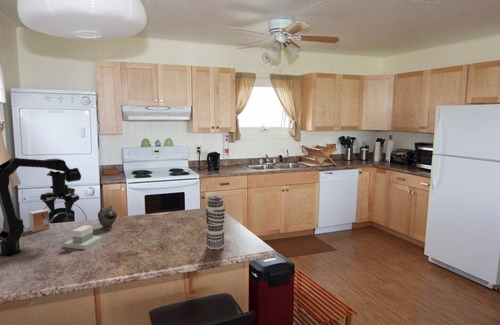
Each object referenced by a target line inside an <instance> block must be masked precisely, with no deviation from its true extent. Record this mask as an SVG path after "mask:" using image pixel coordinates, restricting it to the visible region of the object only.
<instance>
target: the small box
mask: <svg viewBox="0 0 500 325" xmlns="http://www.w3.org/2000/svg"><path fill="white" fill-rule="evenodd" d="M28 219H29V231H31V232H33V233H36V232H41V231H45V230H50V212H49V210H48V209H45V208H43V209H39V210H33V211H29V212H28Z"/></svg>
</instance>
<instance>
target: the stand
mask: <svg viewBox="0 0 500 325" xmlns="http://www.w3.org/2000/svg"><path fill="white" fill-rule="evenodd" d="M102 241H103V237H102V236H97V235H93V238H91V239H90V240H88V241H86V242H84V243H74V242H73V238H72V239H69V240H68V241H66V242H64V243H63V247H64V248H69V249H77V250H78V249H79V250H84V251H85V250H88V249H89V248H92V247H93V246H95V245H97V244H99V243H101V242H102Z"/></svg>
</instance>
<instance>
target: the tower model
mask: <svg viewBox="0 0 500 325" xmlns="http://www.w3.org/2000/svg"><path fill="white" fill-rule="evenodd" d="M224 200H225V199H224V198H223V197H222V196H221V195H217V194H214V195H209V196H208V198H206V201H207V203H206V204H207V205H206V210H205V216H206V218H205V220H206V222H205V223H206V225H207V229H206V231H207V232H206V248H207V247H208V248H207V249H209V248H210V249H209V250H212V249H217V250H221V249H220V248H222V249H223V248H224V247H225V231H224V223H225V220H224V219H225V217H226V216H225V213H224V212H225V211H226V209H225V206H224Z"/></svg>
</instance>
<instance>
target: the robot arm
mask: <svg viewBox="0 0 500 325" xmlns="http://www.w3.org/2000/svg"><path fill="white" fill-rule="evenodd" d="M19 167H21V168H22V167H25V168H28V167H29V168H42V169H44V168H45V169H48V170H50V171H49V172H47V174H46V176H48V177H51V185H52V186H50V189H52V192H45V193H42V194H40V195H39V196H40V197H39V198H40V201H42V203H44V204H45V205H46V206H47V208H48V209H49V211H50V212H51V213H52V214H54V213H55V202H56V200H63V201H64V202H63V203H64V207H65V212H66V215H70V214H71V211H72V208H73V205H74V203H76V202H78V201H79V200H80V196H79V195H78V194H75V190H76V188H72V187H69V185H68V184H66V182H67V183H70V182H71V183H72V182H79V181H81V180H82V174H81V172H80V170H79V168H78V167H73V168H69V166H68V165H67V163H66V161H65V160H64V159H62V158H61V159H60V158H47V159H37V158H36V159H35V158H34V159H33V158H23V157H21V158H20V157H11V158H10V159H8V160H7V161H5V162H3V163H0V209H1V212H2V216H3V221H2V222H3V223H2V230H1V231H0V256H4V257H12V256H15V255H16V254H19V253H21V252H23V249H21V247H20V239H21V235H22V234H23V233H24V229H25V226H24V220H23V219H22V218H20V217H17V215H16V212H15V207H14V204H13V199H12V196H11V192H10V189H9V187H10V176H11V175H13V174H14V173H15V172H16V170H17V169H18V168H19Z"/></svg>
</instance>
